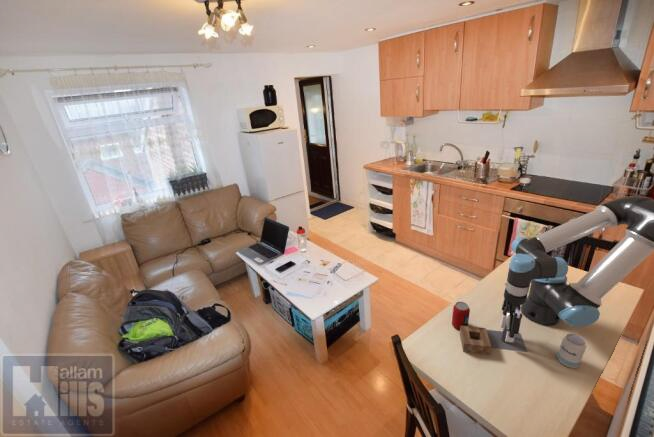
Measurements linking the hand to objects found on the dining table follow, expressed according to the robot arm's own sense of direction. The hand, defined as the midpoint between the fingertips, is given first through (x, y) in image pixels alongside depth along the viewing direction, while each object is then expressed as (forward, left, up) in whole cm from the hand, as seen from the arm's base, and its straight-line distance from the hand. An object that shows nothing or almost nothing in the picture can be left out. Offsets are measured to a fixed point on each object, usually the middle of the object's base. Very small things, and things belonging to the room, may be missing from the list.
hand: (506, 334), depth 126 cm
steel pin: (0, 0, -4) cm, 4 cm away
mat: (0, 0, -4) cm, 4 cm away
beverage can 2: (-20, +7, -4) cm, 22 cm away
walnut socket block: (+13, +4, -4) cm, 14 cm away
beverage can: (+17, -6, -4) cm, 19 cm away
